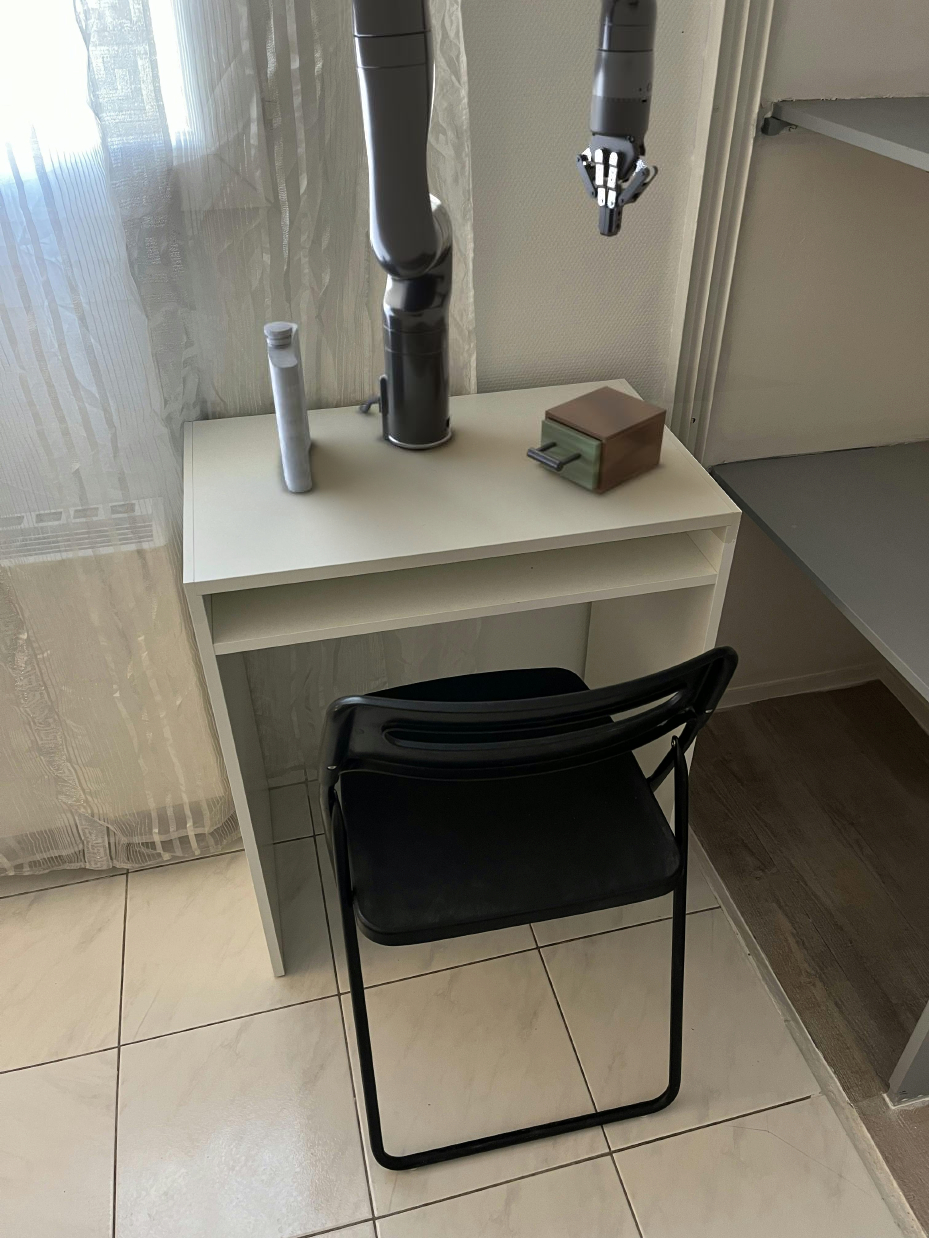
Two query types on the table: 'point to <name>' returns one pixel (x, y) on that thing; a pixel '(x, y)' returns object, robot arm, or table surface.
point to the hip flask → (290, 403)
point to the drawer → (568, 453)
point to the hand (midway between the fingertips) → (609, 235)
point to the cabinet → (616, 432)
